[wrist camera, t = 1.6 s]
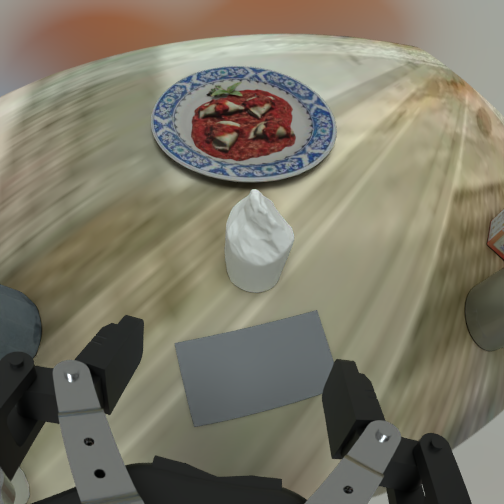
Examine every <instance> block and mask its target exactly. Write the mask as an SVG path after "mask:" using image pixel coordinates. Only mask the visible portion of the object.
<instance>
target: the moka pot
mask: <svg viewBox="0 0 504 504" xmlns="http://www.w3.org/2000/svg"><path fill="white" fill-rule="evenodd" d="M40 338H41V322H40V316H39V313H38V310H37V308H36V306H35V304H34V303H33V302H32V301H31V300H30V299H29V298H28V297H27V296H26V295H24V294H23V293H22V292H20V291H17V290H14V289H11V288H9V287H6V286H3V285H1V284H0V360H1V359H2V358H3V357H4V356H5V355H7V354H9V353H11V352H17V351H19V352H24V353H27V354H29V355H30V356H31V357H32V358H33V357H34V356H35V354H36V352H37V349H38V347H39V343H40Z"/></svg>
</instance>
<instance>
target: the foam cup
mask: <svg viewBox="0 0 504 504" xmlns="http://www.w3.org/2000/svg"><path fill="white" fill-rule="evenodd" d="M11 483H12V484H13V486H14V488H15V492H16V497H15V501H14V504H25V503H26V502H27V500H28V498H29V496H30V493H29V484H28V481H27V479H26V477H25V474H24V472H23V471H22V470H21V468H20V467H19V468H18V470H17V471H16V473H15V475H14V477H13V479H12V481H11Z"/></svg>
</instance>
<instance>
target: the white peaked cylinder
mask: <svg viewBox="0 0 504 504" xmlns="http://www.w3.org/2000/svg"><path fill="white" fill-rule="evenodd" d="M293 242H294V233H293V230H292V227H291V226H290V225H289V224H288V223H287V222H286V221H285V219H284V218H283V217H282V216H281V214H280V213H279V212H278V210H277V209H276V208H275V206H274V204H273V202H272V201H271V200H269V199H268V198H266V197H265V196H263V194H262V193H260V191H258V190H256V189H252V190H251V191H250V194H249V195H248V196H247V197H246V198H244V199H242V200H241V201H240V202H238V203H237V204H236V205H235V206H234V207H233V208H232V210H231V212H230V215H229V218H228V220H227V224H226V242H225V261H226V268H227V272H228V275H229V278H230V280H231V281H232V282H233V283H234V285H236V286H237V287H239V288H240V289H242V290H245V291H248V292H255V293H260V292H263V291H267V290H269V289H271V288H272V287H273V286H274V285H275V284H276V283H277V282H278V280H279V277H280V275H281V272H282V269H283V267H284V265H285V262H286V260H287V258H288V256H289V253H290V250H291V248H292V246H293Z"/></svg>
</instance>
